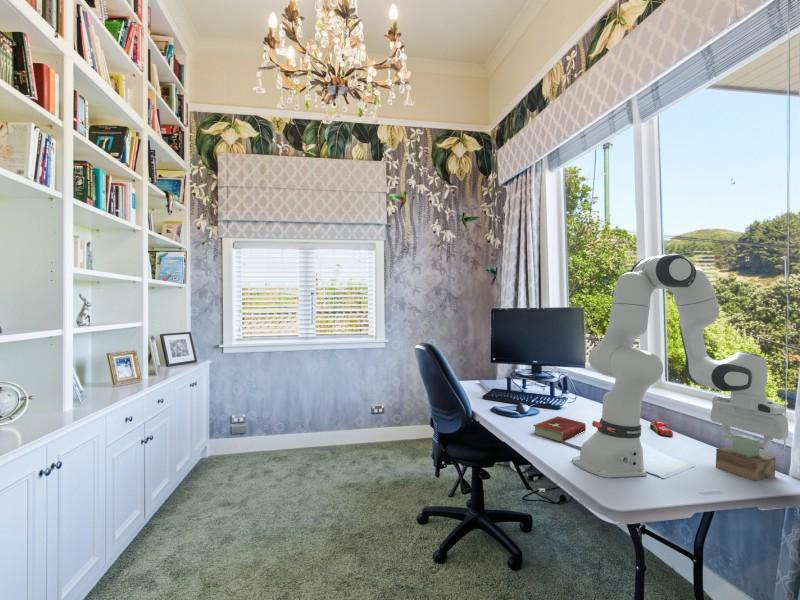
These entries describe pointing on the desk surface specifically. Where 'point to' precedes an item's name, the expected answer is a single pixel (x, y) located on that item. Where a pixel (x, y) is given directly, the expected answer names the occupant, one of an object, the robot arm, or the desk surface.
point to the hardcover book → (559, 428)
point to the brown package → (745, 464)
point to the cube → (746, 445)
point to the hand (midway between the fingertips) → (745, 443)
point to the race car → (661, 428)
